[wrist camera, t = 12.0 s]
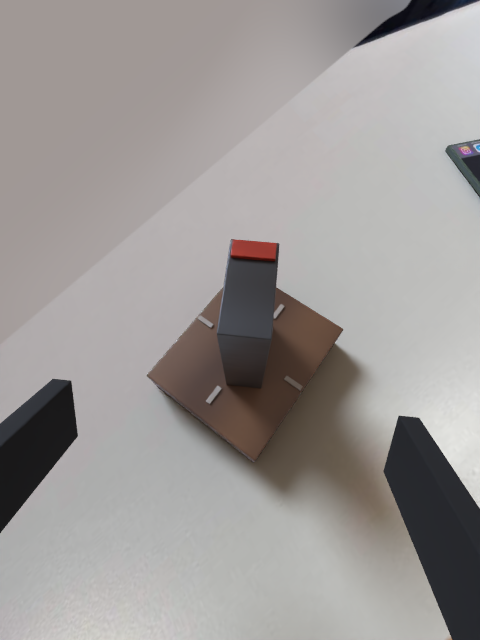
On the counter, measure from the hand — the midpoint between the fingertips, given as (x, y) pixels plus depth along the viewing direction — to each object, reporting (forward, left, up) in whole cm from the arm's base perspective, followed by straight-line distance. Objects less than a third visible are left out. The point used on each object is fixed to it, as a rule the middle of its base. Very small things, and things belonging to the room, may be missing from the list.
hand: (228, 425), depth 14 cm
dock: (-5, +5, -14) cm, 15 cm away
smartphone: (-2, +39, -14) cm, 41 cm away
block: (-5, +5, -10) cm, 12 cm away
